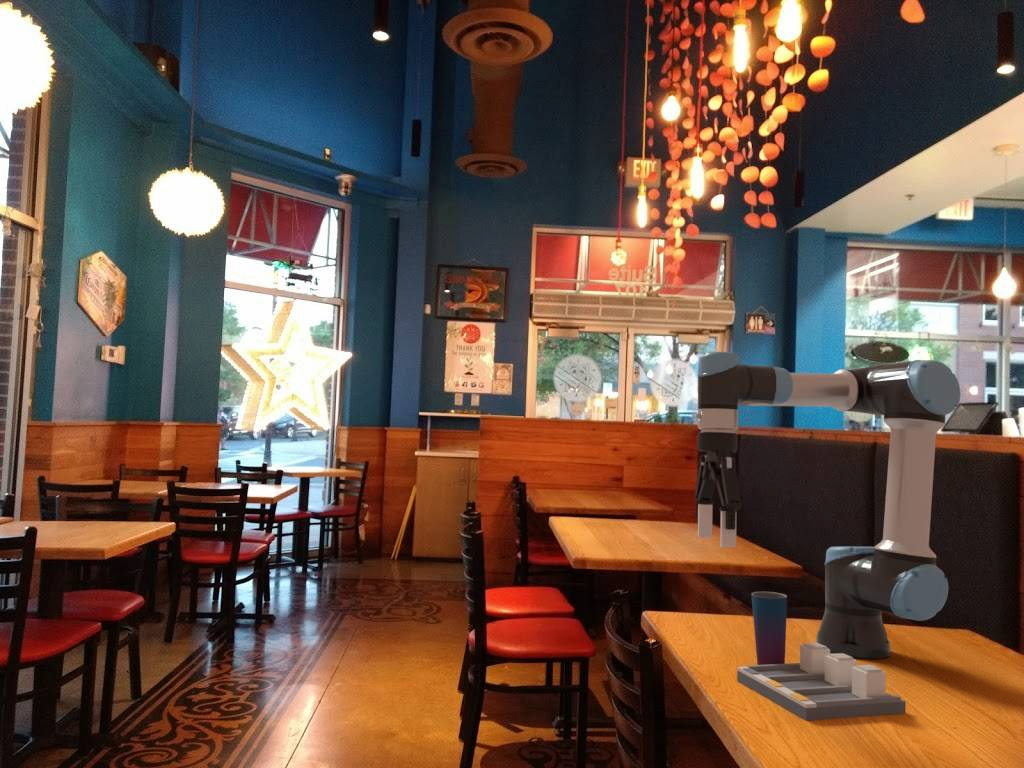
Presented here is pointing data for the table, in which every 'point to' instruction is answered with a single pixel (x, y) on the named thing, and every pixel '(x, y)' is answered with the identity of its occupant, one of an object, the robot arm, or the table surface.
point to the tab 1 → (813, 657)
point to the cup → (770, 626)
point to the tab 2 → (868, 681)
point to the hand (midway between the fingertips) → (716, 542)
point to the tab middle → (839, 669)
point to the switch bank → (813, 693)
